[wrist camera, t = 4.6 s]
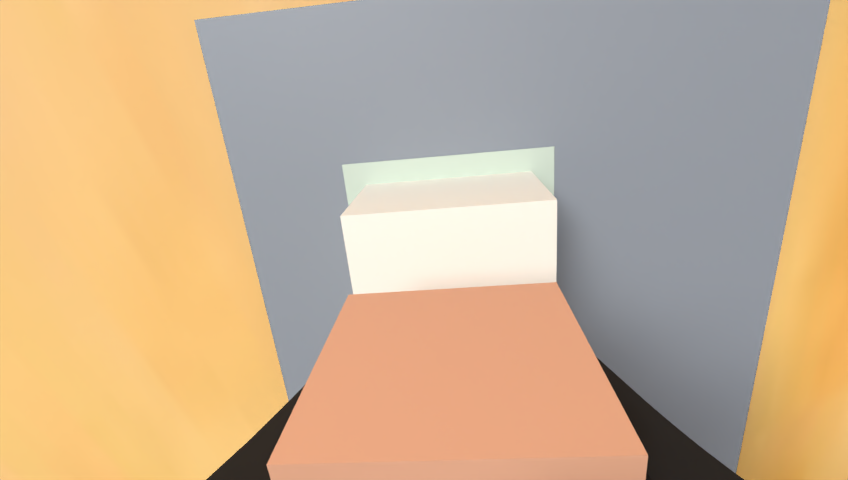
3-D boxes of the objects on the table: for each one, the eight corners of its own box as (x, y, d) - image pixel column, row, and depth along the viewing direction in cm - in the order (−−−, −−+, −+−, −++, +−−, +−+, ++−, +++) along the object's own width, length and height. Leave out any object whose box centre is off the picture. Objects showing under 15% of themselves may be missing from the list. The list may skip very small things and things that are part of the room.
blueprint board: (715, 510, 21) (725, 527, 21) (325, 515, 23) (320, 530, 22) (819, -51, 13) (843, -59, 12) (207, 23, 15) (193, 19, 14)
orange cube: (554, 446, 10) (624, 687, 6) (375, 451, 11) (329, 680, 7) (556, 282, 9) (648, 455, 5) (348, 294, 9) (266, 465, 5)
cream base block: (532, 318, 17) (555, 383, 14) (386, 325, 18) (369, 390, 14) (531, 171, 15) (557, 199, 12) (366, 184, 16) (340, 216, 12)
